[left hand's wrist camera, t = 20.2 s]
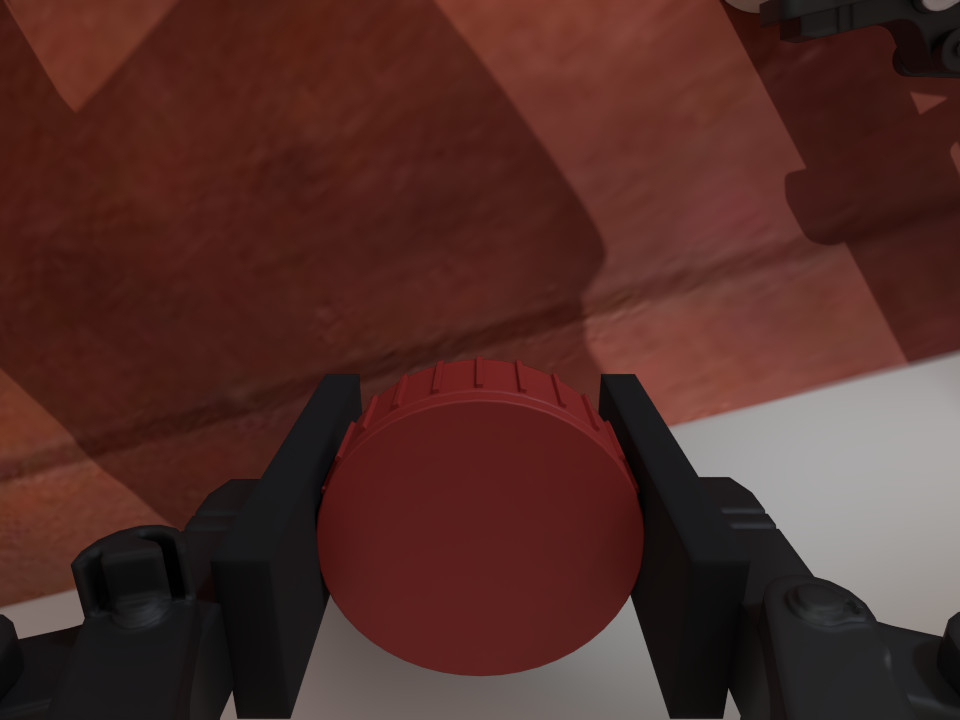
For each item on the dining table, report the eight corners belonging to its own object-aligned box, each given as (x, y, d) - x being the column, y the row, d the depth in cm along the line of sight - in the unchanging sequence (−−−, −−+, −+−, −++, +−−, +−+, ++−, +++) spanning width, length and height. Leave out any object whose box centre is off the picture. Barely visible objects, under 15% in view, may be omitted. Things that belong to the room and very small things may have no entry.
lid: (321, 353, 11) (292, 395, 10) (637, 352, 11) (665, 394, 10) (346, 607, 13) (325, 680, 12) (615, 606, 13) (636, 679, 12)
